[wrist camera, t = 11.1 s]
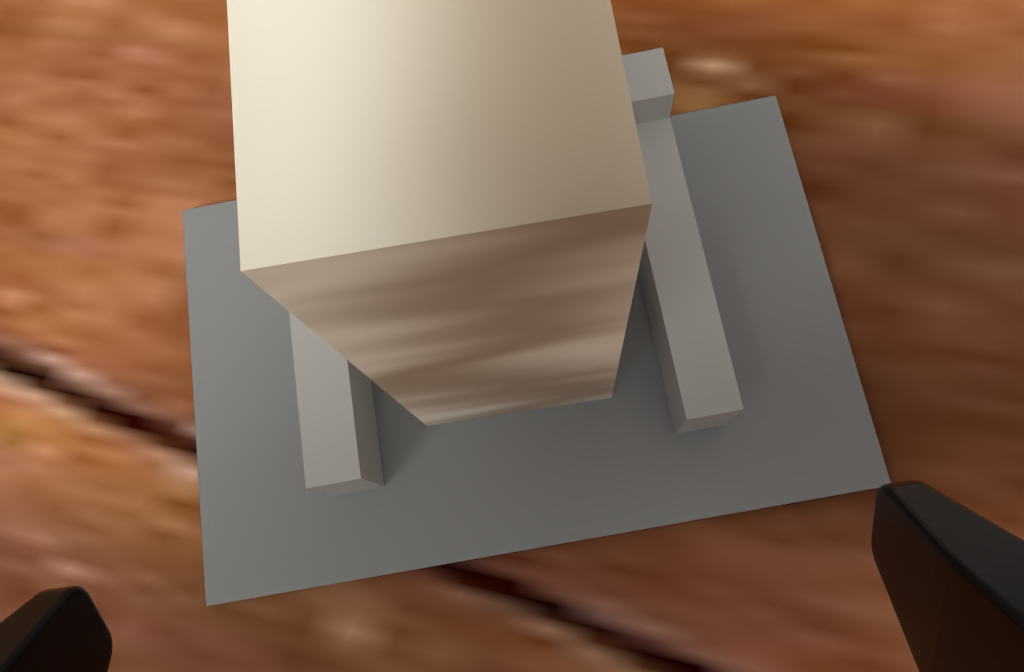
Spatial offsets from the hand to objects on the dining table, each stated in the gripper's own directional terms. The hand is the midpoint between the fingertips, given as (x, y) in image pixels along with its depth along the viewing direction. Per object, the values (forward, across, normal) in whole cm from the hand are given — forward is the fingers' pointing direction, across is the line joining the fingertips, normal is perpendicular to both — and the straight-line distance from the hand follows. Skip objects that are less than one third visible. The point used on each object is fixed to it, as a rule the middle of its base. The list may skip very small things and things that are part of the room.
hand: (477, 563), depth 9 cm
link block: (+11, 0, +3) cm, 11 cm away
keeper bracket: (+11, 0, +3) cm, 11 cm away
